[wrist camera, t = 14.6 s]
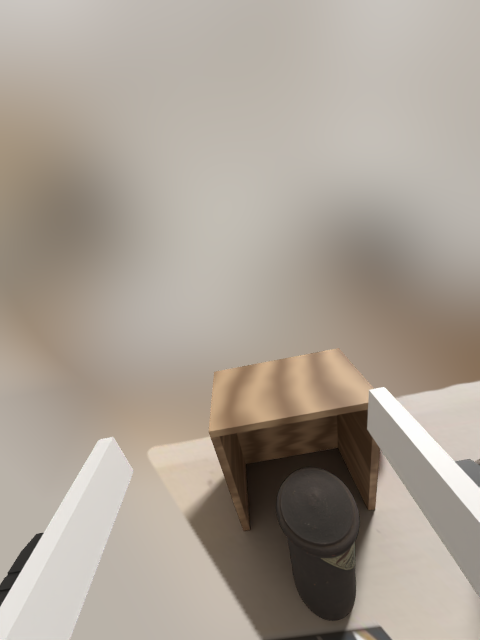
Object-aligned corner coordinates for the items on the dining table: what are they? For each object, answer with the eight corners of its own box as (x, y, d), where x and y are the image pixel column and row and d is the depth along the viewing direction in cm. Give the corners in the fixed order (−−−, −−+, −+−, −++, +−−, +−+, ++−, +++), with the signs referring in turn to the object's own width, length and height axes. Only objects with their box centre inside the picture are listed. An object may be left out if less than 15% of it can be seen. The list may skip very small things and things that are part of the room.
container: (364, 635, 29) (370, 559, 21) (291, 615, 31) (271, 541, 23) (349, 545, 36) (350, 464, 28) (292, 535, 39) (277, 458, 31)
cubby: (340, 442, 52) (338, 348, 42) (375, 509, 40) (383, 399, 30) (240, 459, 53) (214, 371, 43) (243, 531, 41) (208, 431, 31)
